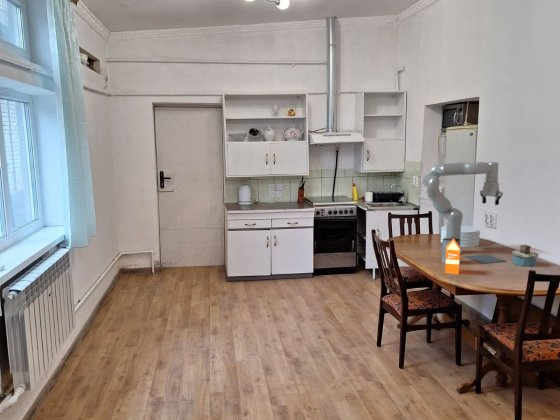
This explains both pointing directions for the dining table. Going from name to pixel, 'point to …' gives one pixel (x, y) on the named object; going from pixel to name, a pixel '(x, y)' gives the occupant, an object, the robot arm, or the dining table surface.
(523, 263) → the bowl
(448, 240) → the coffee box
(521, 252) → the lid
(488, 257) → the mat
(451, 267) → the orange juice
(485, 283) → the dining table surface
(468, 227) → the plate stack
